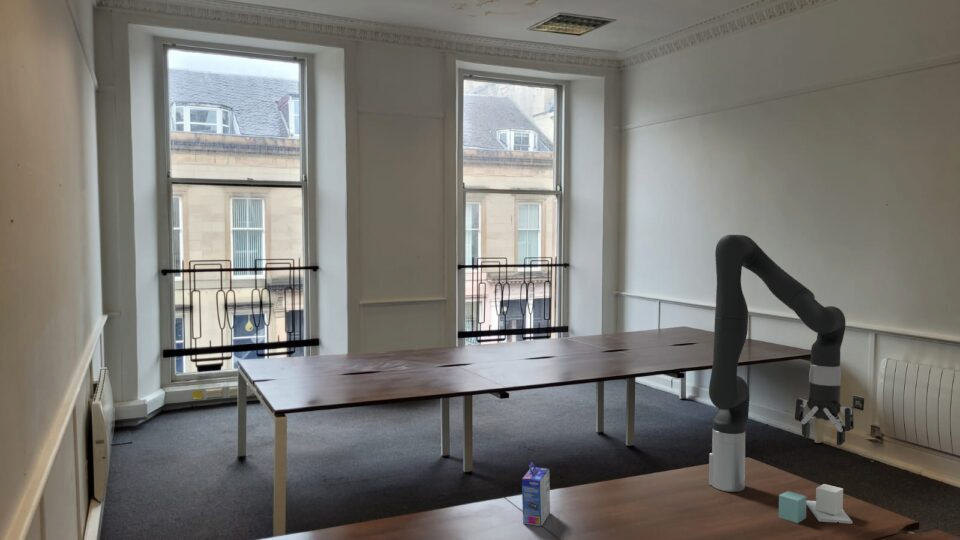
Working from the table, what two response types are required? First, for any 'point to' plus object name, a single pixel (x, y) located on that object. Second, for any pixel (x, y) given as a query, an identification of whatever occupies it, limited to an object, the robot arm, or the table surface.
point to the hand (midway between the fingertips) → (822, 441)
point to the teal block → (792, 506)
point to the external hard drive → (828, 515)
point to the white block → (829, 499)
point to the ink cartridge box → (536, 495)
